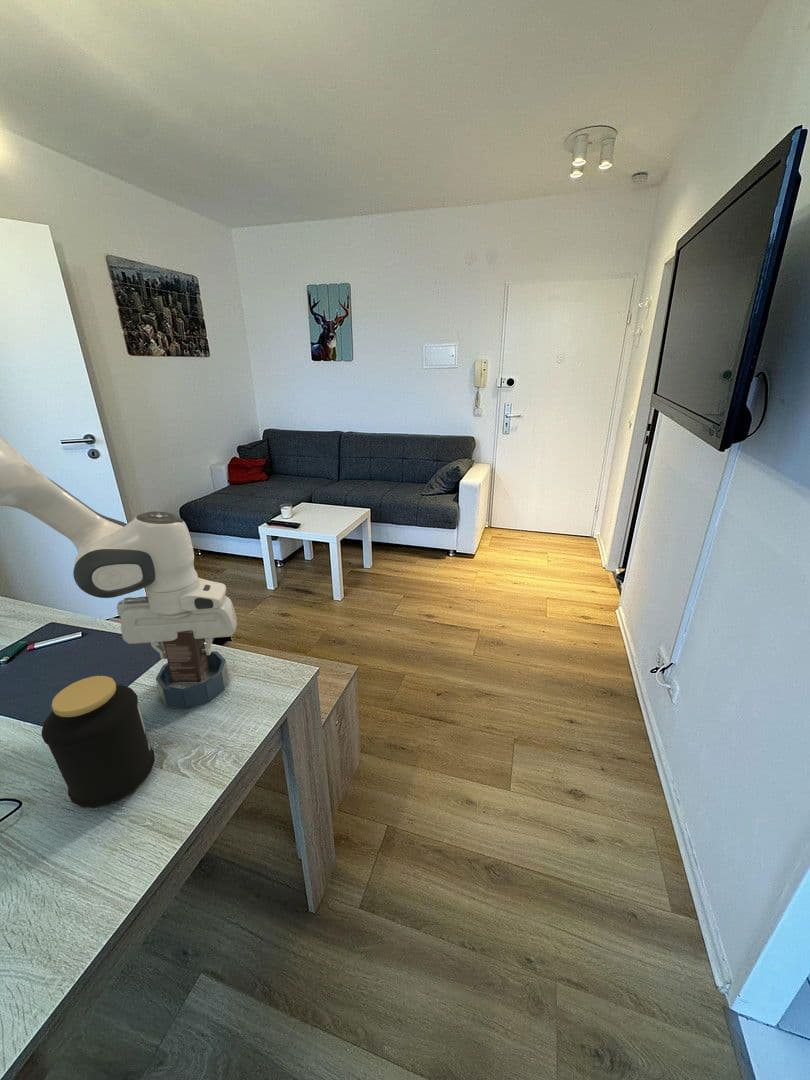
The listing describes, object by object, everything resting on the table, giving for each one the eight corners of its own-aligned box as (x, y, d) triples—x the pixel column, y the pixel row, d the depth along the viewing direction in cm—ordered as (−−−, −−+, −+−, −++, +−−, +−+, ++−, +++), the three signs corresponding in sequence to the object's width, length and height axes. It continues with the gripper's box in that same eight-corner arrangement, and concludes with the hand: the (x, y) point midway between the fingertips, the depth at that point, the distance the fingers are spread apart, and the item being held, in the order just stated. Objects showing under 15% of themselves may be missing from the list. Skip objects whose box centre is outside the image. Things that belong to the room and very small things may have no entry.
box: (210, 668, 91) (201, 620, 86) (201, 683, 87) (191, 633, 82) (181, 668, 91) (170, 619, 86) (170, 683, 87) (159, 632, 82)
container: (65, 776, 70) (30, 688, 63) (148, 738, 77) (125, 655, 70) (73, 834, 61) (33, 739, 55) (165, 785, 69) (140, 696, 62)
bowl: (151, 713, 83) (146, 694, 81) (173, 669, 95) (169, 652, 93) (219, 705, 85) (216, 687, 83) (232, 663, 97) (230, 647, 95)
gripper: (106, 607, 77) (123, 670, 82) (227, 599, 80) (236, 660, 86) (121, 590, 83) (136, 650, 88) (233, 584, 86) (242, 642, 91)
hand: (187, 655), depth 87 cm, fingers closed on box, 6 cm apart
